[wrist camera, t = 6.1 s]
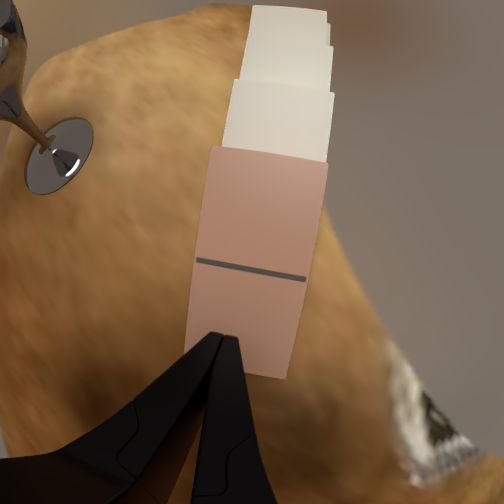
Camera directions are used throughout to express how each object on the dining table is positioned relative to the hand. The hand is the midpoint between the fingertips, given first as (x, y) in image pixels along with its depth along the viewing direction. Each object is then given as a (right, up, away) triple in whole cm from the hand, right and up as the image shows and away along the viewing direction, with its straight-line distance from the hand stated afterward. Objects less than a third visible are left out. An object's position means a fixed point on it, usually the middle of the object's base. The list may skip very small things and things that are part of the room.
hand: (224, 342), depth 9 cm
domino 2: (+1, +1, +7) cm, 7 cm away
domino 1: (0, -3, +6) cm, 6 cm away
